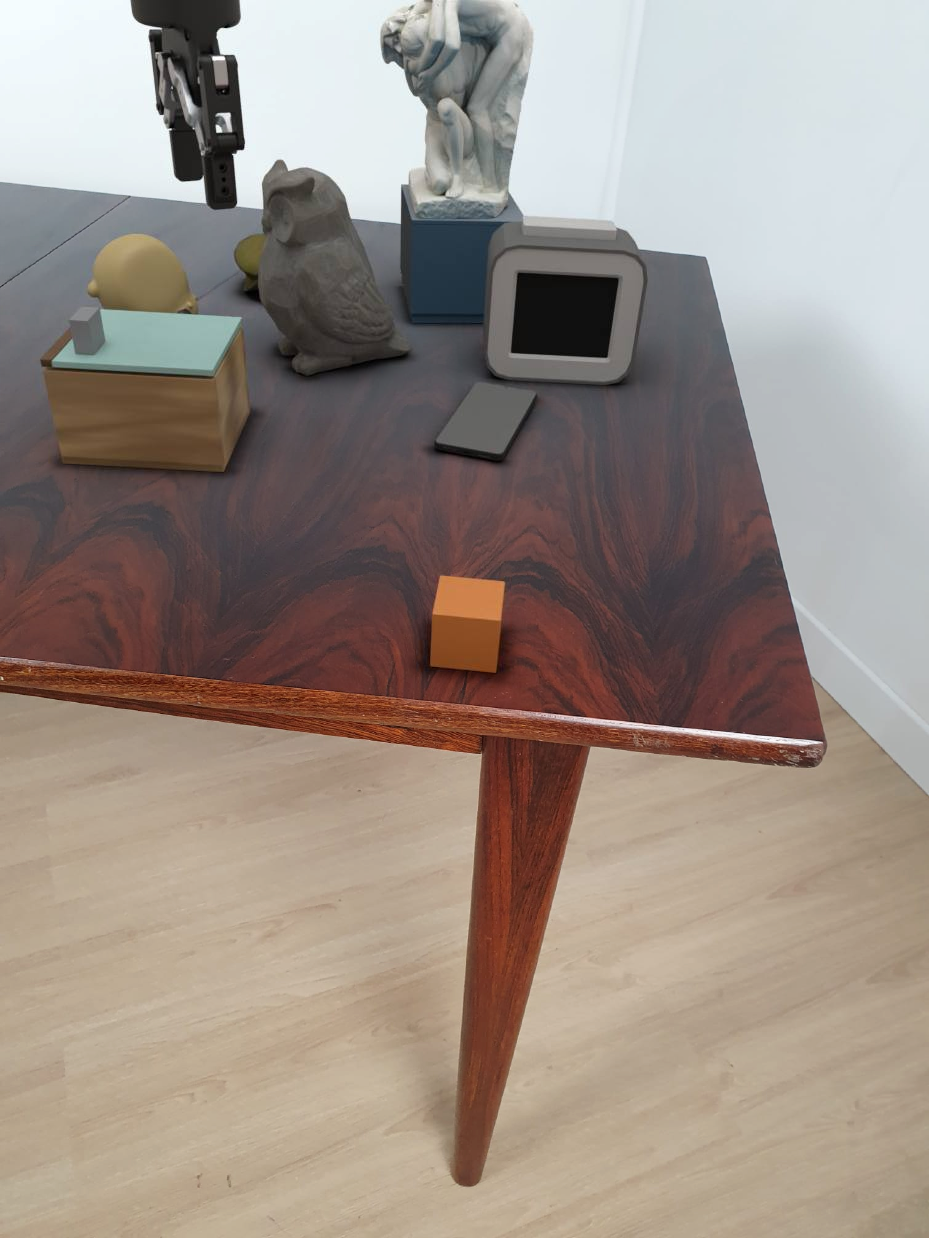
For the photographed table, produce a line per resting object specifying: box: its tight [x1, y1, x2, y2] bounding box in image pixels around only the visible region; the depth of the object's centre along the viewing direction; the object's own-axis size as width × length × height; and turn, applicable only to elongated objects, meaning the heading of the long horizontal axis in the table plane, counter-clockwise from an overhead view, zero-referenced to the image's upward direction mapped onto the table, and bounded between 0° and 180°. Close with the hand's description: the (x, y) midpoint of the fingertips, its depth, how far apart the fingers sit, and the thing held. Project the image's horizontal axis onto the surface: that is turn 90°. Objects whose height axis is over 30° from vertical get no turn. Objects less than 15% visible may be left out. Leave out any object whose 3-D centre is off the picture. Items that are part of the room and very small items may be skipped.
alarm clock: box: [482, 215, 649, 386], centre depth 107 cm, size 16×11×16 cm
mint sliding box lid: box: [39, 306, 243, 376], centre depth 86 cm, size 12×14×4 cm
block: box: [429, 575, 506, 674], centre depth 68 cm, size 5×5×5 cm
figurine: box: [258, 158, 410, 376], centre depth 104 cm, size 14×16×20 cm
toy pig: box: [86, 233, 199, 315], centre depth 111 cm, size 10×12×11 cm
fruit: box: [233, 233, 266, 292], centre depth 125 cm, size 11×12×7 cm
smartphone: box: [433, 381, 538, 461], centre depth 98 cm, size 7×1×15 cm
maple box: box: [42, 326, 251, 473], centre depth 90 cm, size 12×14×9 cm
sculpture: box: [379, 0, 534, 324], centre depth 116 cm, size 17×16×35 cm
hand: (205, 193), depth 77 cm, fingers open, 8 cm apart
